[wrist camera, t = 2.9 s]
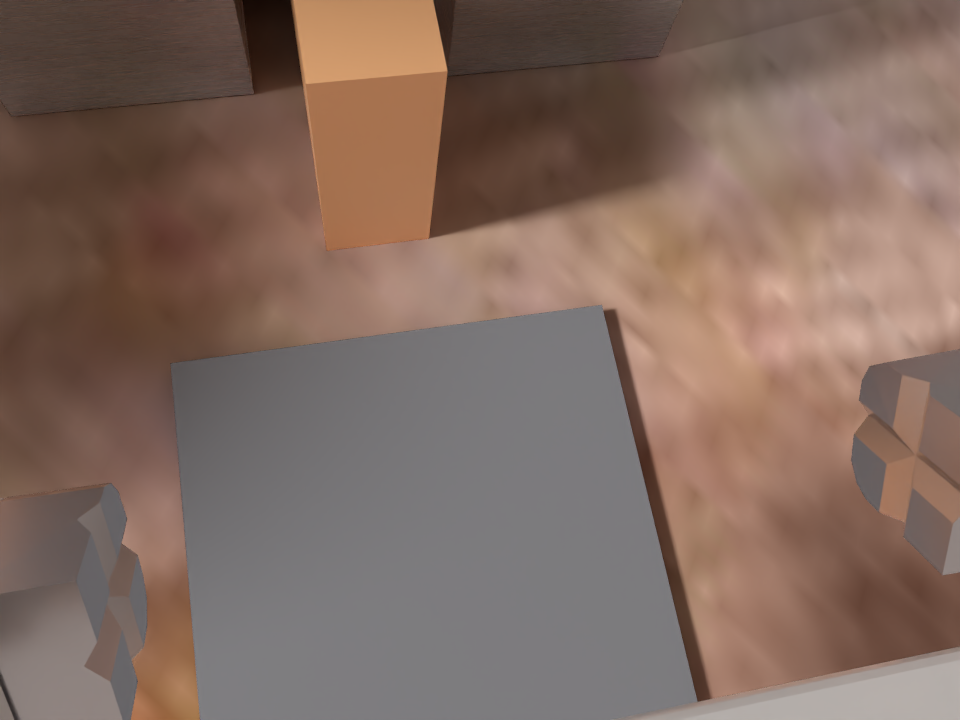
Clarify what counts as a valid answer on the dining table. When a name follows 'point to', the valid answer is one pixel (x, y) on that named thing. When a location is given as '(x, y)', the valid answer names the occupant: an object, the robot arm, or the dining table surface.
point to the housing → (225, 56)
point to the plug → (372, 115)
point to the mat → (424, 529)
